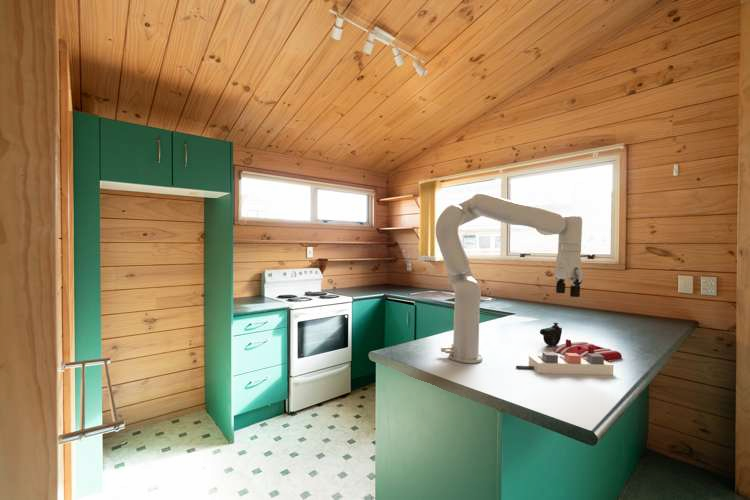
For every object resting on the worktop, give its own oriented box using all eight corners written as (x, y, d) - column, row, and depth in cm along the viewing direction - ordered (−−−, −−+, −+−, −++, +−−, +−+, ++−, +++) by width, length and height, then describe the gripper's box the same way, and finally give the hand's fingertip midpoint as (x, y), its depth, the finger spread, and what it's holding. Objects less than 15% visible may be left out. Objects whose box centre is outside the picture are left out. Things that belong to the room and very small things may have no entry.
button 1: (546, 364, 125) (546, 355, 125) (542, 361, 129) (542, 352, 128) (557, 364, 125) (558, 355, 125) (553, 361, 128) (553, 352, 128)
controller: (563, 345, 161) (564, 323, 161) (547, 349, 154) (547, 326, 154) (554, 343, 165) (554, 321, 164) (537, 346, 158) (538, 324, 158)
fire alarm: (552, 338, 151) (585, 335, 159) (552, 352, 151) (585, 348, 159) (588, 349, 136) (623, 345, 144) (587, 365, 136) (622, 359, 144)
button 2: (569, 364, 125) (569, 355, 125) (564, 361, 128) (564, 352, 128) (580, 365, 125) (581, 355, 125) (575, 362, 128) (576, 353, 128)
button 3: (592, 365, 125) (592, 356, 125) (586, 362, 128) (587, 353, 128) (603, 365, 125) (604, 356, 125) (598, 362, 128) (598, 353, 128)
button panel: (520, 372, 125) (521, 361, 125) (512, 364, 133) (512, 354, 133) (613, 375, 124) (613, 364, 124) (599, 367, 132) (599, 356, 132)
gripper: (547, 248, 142) (546, 291, 142) (572, 249, 124) (570, 298, 125) (566, 249, 142) (564, 292, 142) (593, 249, 124) (591, 298, 125)
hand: (567, 294), depth 133 cm, fingers open, 9 cm apart
